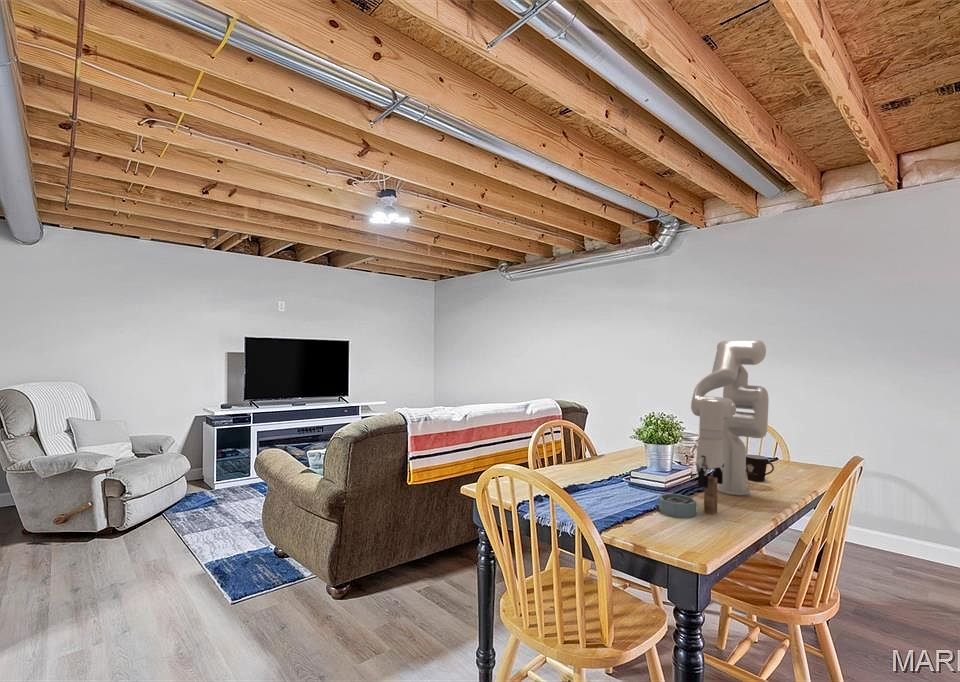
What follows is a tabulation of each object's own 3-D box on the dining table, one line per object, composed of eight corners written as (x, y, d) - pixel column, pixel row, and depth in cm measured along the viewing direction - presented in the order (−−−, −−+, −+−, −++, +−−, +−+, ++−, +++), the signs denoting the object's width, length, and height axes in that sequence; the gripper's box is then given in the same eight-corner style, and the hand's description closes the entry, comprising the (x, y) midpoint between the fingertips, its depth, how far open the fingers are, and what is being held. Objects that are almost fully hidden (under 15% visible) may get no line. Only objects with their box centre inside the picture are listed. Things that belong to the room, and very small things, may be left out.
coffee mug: (740, 476, 215) (740, 454, 215) (760, 477, 214) (760, 454, 214) (754, 484, 203) (754, 460, 203) (775, 485, 203) (775, 460, 203)
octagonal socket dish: (671, 504, 175) (671, 491, 175) (701, 513, 166) (701, 500, 166) (653, 510, 168) (653, 497, 168) (683, 519, 159) (683, 506, 159)
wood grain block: (708, 510, 169) (708, 475, 169) (717, 513, 167) (717, 477, 167) (704, 512, 167) (704, 477, 167) (712, 514, 165) (712, 479, 165)
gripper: (713, 431, 175) (712, 479, 175) (687, 434, 165) (686, 485, 164) (734, 434, 169) (733, 484, 169) (709, 438, 159) (708, 491, 158)
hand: (710, 484), depth 167 cm, fingers open, 9 cm apart
